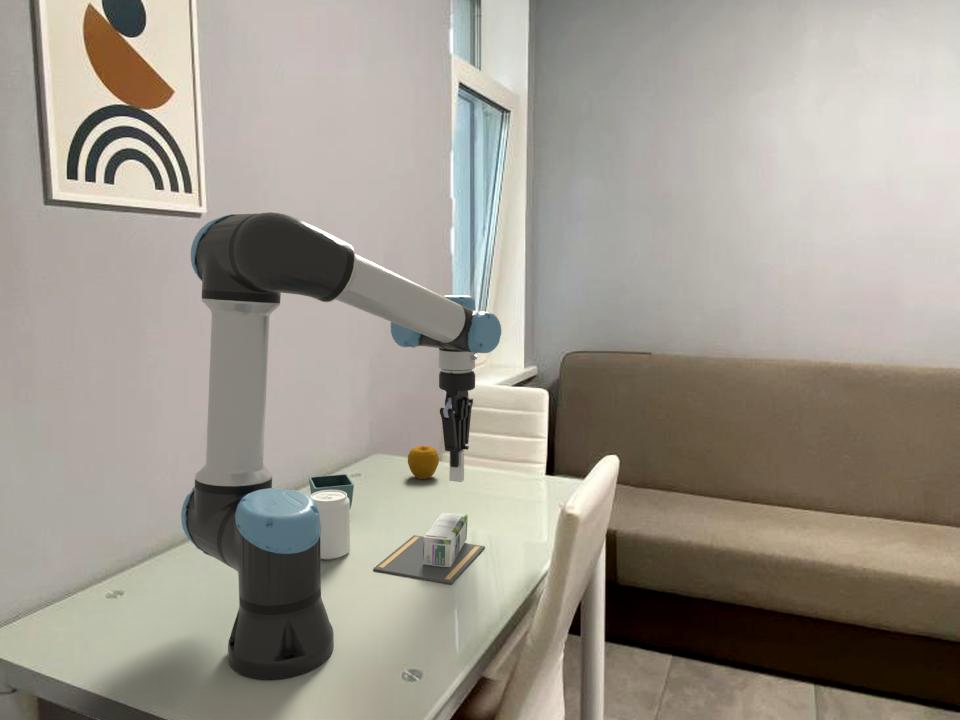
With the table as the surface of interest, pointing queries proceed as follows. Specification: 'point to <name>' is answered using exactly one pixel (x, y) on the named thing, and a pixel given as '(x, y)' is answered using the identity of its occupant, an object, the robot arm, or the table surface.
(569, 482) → the table surface
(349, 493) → the flower pot
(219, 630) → the table surface
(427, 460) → the apple
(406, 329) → the robot arm
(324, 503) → the beverage can
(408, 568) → the mat
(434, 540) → the syrup box
